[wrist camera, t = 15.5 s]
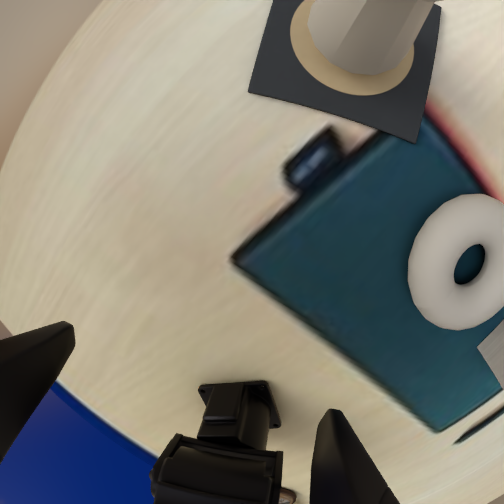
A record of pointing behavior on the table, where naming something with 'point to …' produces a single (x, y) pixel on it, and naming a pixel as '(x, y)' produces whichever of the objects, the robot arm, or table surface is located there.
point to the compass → (286, 497)
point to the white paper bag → (494, 352)
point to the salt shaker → (366, 31)
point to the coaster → (343, 74)
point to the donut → (445, 259)
